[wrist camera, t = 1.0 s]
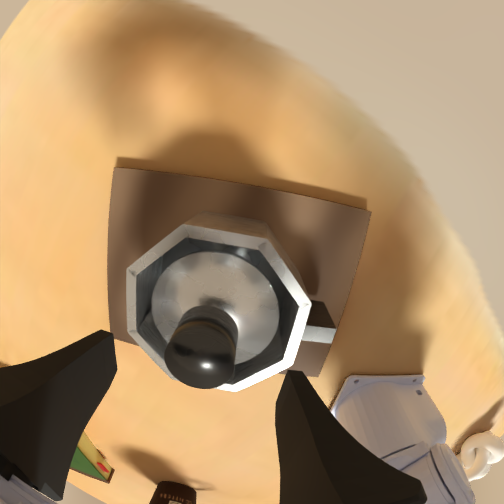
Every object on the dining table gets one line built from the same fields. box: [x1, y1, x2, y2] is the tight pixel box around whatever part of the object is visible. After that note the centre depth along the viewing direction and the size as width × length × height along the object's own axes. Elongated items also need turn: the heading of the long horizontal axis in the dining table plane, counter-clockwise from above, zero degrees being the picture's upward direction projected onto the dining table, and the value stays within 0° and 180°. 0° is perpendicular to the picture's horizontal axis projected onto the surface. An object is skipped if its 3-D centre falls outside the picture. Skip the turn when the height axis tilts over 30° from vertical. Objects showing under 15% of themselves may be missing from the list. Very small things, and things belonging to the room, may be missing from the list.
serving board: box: [107, 167, 371, 377], centre depth 19 cm, size 18×14×1 cm
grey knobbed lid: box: [152, 249, 279, 389], centre depth 13 cm, size 7×7×5 cm
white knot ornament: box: [456, 431, 504, 482], centre depth 24 cm, size 11×12×9 cm
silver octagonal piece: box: [126, 211, 337, 392], centre depth 17 cm, size 12×10×5 cm
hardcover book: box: [69, 431, 115, 483], centre depth 27 cm, size 25×19×4 cm
